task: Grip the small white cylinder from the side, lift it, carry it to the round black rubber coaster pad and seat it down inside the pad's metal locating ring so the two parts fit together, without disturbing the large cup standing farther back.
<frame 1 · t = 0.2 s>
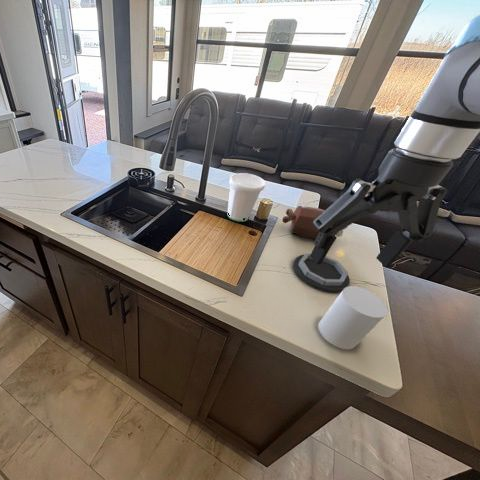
hand: (348, 261, 50), 20 cm above the worktop, tool pointing down, fingers open, 13 cm apart
white cylinder: (336, 333, 61), on the worktop
cup 2: (237, 216, 100), on the worktop
meat: (307, 234, 92), on the worktop
coaster: (319, 273, 76), on the worktop
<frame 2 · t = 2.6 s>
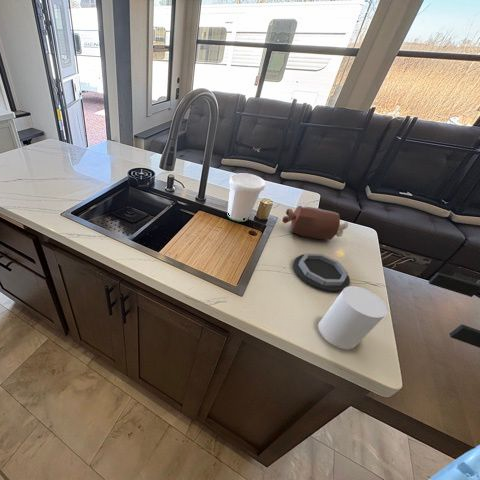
hand: (443, 301, 46), 18 cm above the worktop, tool horizontal, fingers open, 13 cm apart
nothing on the worktop moved.
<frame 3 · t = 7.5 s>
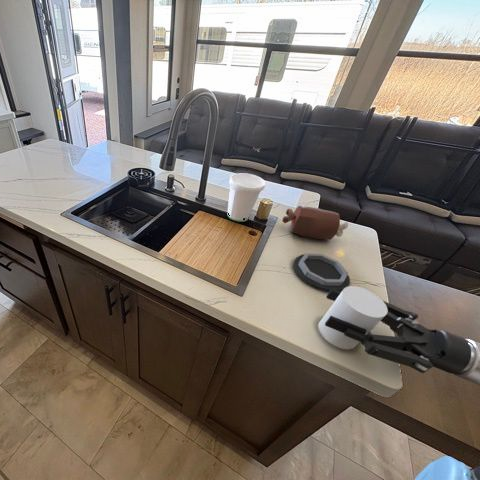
hand: (328, 306, 58), 7 cm above the worktop, tool horizontal, fingers closed on white cylinder, 8 cm apart
white cylinder: (336, 333, 61), on the worktop, touching gripper
everything else where it was.
when the fingers open (8 cm above the worktop, at t = 14.8 s): white cylinder stays where it is, resting on coaster.
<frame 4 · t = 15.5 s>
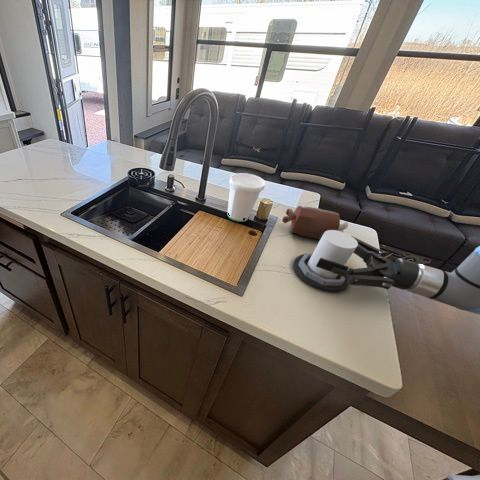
hand: (319, 248, 72), 8 cm above the worktop, tool horizontal, fingers open, 13 cm apart
white cylinder: (321, 271, 76), point 1 cm above the worktop, touching coaster
everything else where it was.
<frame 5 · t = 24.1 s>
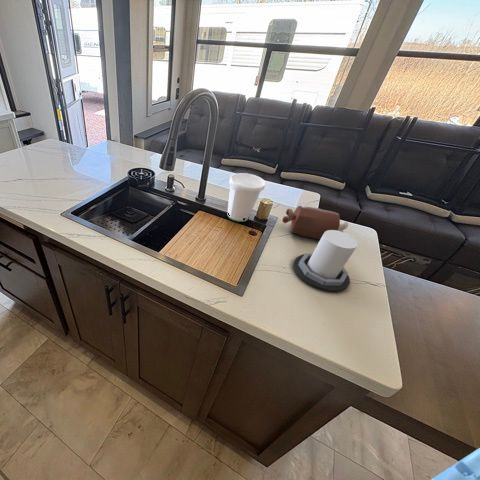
nothing on the worktop moved.
at the end: white cylinder 0.0 cm off-centre on the coaster, point 1.0 cm above the coaster's base; white cylinder tilted 0°; cup 2 moved 0.2 cm from its start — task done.
